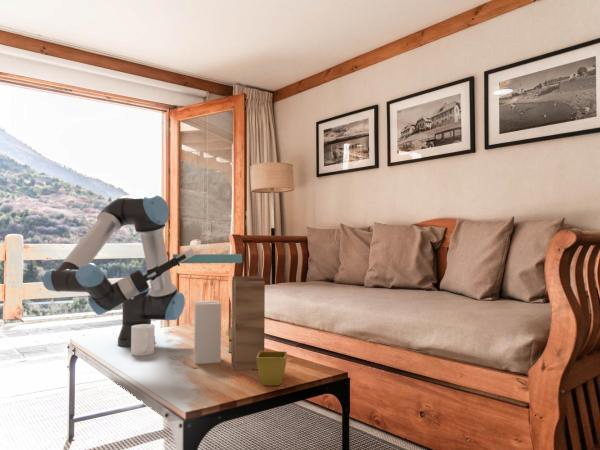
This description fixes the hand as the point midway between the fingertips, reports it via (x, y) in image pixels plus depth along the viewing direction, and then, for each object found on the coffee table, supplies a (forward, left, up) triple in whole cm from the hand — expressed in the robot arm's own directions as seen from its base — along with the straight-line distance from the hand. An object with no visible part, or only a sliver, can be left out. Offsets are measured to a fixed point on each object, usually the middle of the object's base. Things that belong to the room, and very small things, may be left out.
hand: (193, 251), depth 172 cm
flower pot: (+34, +22, -40) cm, 57 cm away
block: (0, +5, -4) cm, 7 cm away
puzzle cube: (-10, +21, -40) cm, 47 cm away
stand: (+12, +18, -40) cm, 46 cm away
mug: (-16, -18, -40) cm, 47 cm away
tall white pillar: (0, +5, -40) cm, 40 cm away
